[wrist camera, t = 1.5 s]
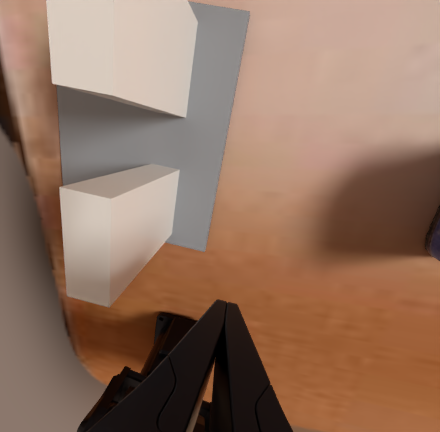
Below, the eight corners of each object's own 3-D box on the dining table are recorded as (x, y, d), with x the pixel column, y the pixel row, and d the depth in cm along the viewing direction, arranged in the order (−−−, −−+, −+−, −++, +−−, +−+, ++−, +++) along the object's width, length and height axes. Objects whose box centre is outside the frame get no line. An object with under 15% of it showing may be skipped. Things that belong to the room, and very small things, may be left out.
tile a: (171, 234, 20) (109, 307, 12) (145, 228, 21) (65, 295, 12) (179, 169, 18) (111, 198, 10) (150, 163, 19) (57, 186, 10)
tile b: (186, 117, 17) (112, 95, 8) (154, 111, 17) (49, 83, 8) (197, 21, 15) (116, -150, 6) (162, 15, 15) (31, -160, 6)
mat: (205, 249, 21) (204, 251, 21) (68, 216, 22) (64, 218, 22) (249, 15, 15) (249, 11, 14) (55, -17, 16) (49, -22, 15)
